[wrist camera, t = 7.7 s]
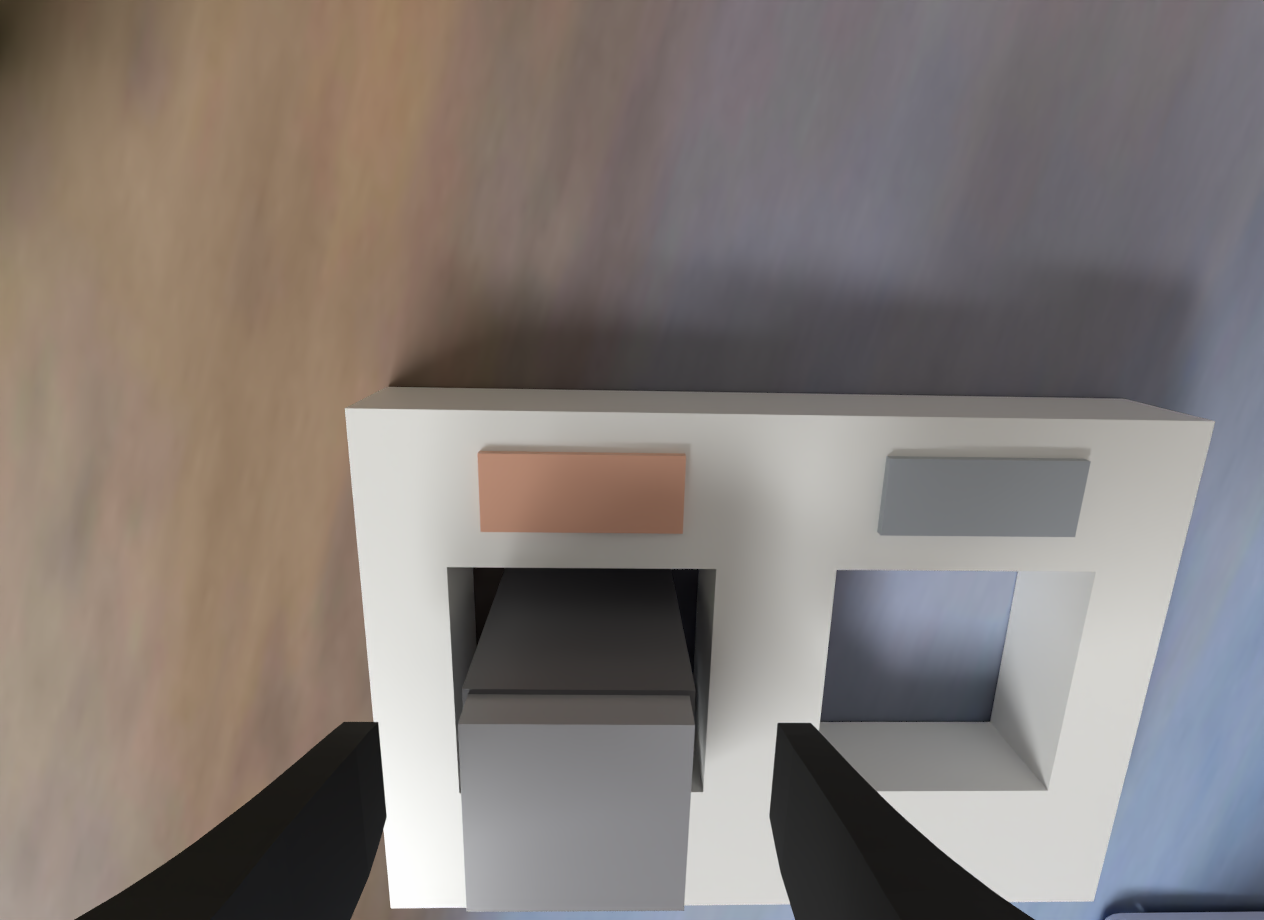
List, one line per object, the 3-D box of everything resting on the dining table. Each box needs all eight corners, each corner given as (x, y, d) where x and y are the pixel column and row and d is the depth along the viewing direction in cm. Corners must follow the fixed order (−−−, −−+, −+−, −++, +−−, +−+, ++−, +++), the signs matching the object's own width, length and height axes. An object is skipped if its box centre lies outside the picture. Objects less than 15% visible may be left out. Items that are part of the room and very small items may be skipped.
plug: (670, 565, 17) (701, 720, 11) (664, 706, 18) (689, 914, 12) (506, 563, 17) (451, 718, 11) (510, 705, 18) (460, 916, 12)
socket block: (1124, 398, 16) (1224, 423, 13) (1032, 821, 19) (1099, 908, 17) (386, 387, 15) (341, 410, 13) (419, 825, 19) (388, 915, 16)
